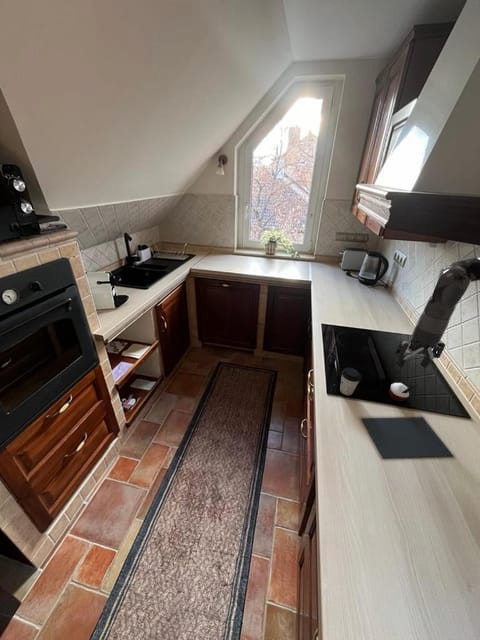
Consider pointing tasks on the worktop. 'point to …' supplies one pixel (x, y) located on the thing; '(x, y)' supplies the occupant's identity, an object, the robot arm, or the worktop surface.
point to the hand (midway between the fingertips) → (411, 366)
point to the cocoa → (400, 391)
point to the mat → (405, 438)
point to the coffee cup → (349, 381)
